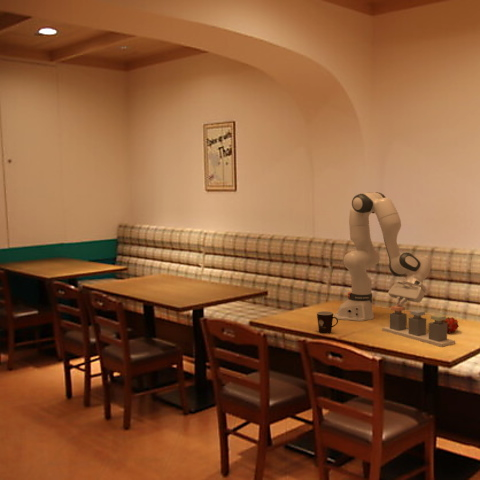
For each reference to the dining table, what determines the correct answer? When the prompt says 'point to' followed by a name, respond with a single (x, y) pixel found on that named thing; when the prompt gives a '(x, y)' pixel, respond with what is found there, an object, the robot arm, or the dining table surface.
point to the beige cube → (417, 313)
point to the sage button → (438, 318)
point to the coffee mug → (325, 321)
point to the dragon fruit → (451, 324)
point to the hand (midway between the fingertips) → (398, 305)
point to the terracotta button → (398, 309)
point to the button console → (419, 330)
